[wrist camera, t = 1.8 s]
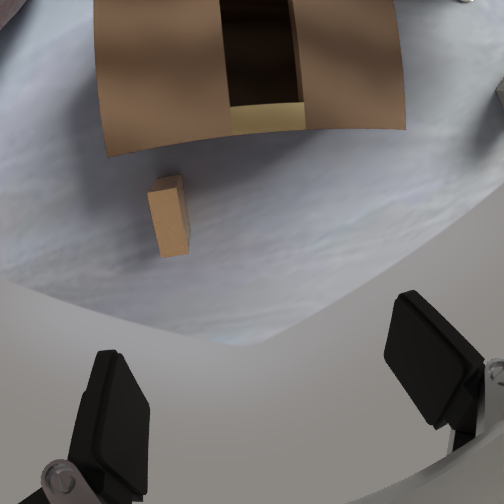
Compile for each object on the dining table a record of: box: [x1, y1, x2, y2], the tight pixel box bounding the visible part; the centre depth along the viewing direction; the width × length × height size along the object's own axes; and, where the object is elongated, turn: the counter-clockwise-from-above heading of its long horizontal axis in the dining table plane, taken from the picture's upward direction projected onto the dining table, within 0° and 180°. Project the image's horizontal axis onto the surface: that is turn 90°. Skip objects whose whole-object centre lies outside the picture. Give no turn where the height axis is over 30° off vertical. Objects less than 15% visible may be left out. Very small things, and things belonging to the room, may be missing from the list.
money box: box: [94, 0, 406, 158], centre depth 20 cm, size 12×20×12 cm, turn 95°
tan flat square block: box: [147, 174, 190, 258], centre depth 27 cm, size 6×2×6 cm, turn 5°
